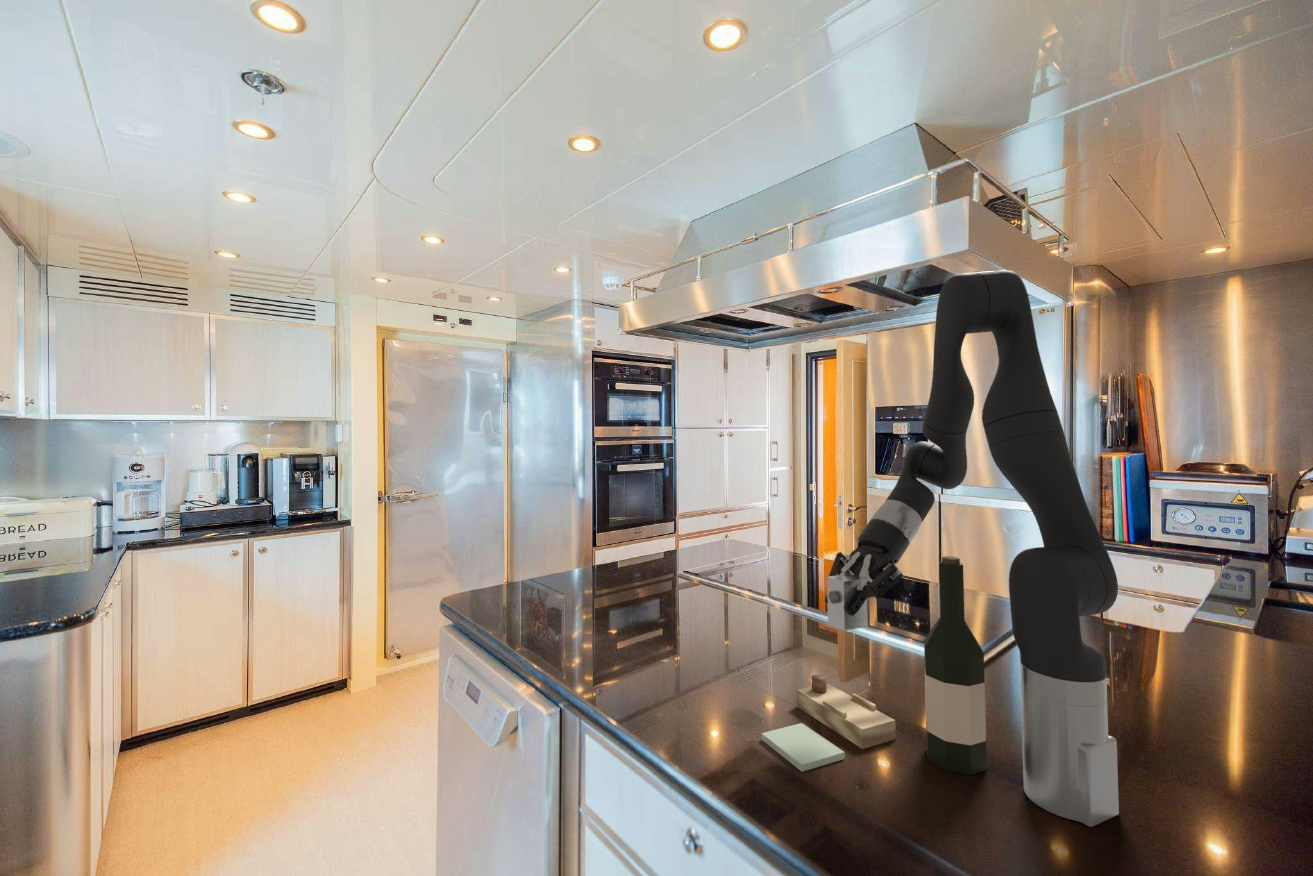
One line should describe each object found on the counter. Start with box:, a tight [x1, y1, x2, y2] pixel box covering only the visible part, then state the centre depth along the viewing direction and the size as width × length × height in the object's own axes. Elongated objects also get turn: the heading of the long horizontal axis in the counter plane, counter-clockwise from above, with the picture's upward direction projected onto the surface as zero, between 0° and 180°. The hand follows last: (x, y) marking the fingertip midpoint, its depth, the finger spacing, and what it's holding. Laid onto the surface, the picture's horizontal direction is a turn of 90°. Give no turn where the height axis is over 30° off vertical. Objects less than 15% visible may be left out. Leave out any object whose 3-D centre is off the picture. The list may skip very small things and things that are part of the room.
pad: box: [761, 722, 846, 772], centre depth 87 cm, size 10×8×1 cm
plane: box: [796, 673, 897, 750], centre depth 95 cm, size 16×7×5 cm, turn 24°
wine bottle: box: [923, 555, 988, 776], centre depth 84 cm, size 8×8×30 cm
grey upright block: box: [826, 573, 869, 631], centre depth 94 cm, size 4×6×8 cm
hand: (838, 608), depth 93 cm, fingers closed on grey upright block, 4 cm apart
